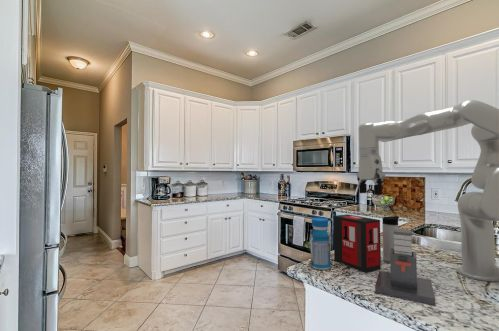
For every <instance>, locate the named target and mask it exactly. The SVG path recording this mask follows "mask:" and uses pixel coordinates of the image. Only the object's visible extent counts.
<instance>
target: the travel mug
mask: <svg viewBox="0 0 499 331" xmlns="http://www.w3.org/2000/svg"><path fill="white" fill-rule="evenodd" d="M399 219H400V217H399V216H398V215H395V216H394V215H393V216H383V217H382V226H381V228H382V261H383V262H384V263H386V264H389V265H390V252H391V249H394V232H393V231H394V229H400V228H399Z"/></svg>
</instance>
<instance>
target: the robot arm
mask: <svg viewBox="0 0 499 331" xmlns="http://www.w3.org/2000/svg"><path fill="white" fill-rule="evenodd" d="M470 124H472V127H471V128H470V129H471V130H470V133H471V136H472V138H473V139H474V140H475V141H476V142H477V143H478V145H479V147H480V154H479V157H478V160H477V162H476V165H475V166H474V170H473V172H472V175H471V178H470V180H471V184H472V185H473V186H474V187H475V188H477V189H479V190H482V192H479V191H468V192H465V193H464V194H462V195H461V196H460V197H458V200H457V210H458V214H459V221H460V236H461V244H460V245H461V266H458V267H457V273H459V274H460V275H462V276H464V277H466V278H469V279H474V280H477V281H483V282H490V283H491V282H493V283H495V281H497V282H499V267H498V266H497V265H496V250H495V249H496V248H495V243H496V242H495V227H494V224H493V222H499V108H497V107H496V106H493V105H490V104H488V103H486V102H483V101H481V100H476V99H468V100H466V101H461V102H460V103H458V104H455V105H452V106H447V107H443V108H439V109H434V110H429V111H425V112H422V113H419V114H416V115H414V116H411V117H409V118H405V119H403V120H401V121H395V120H387V121H381V122H366V123H363V124H362V123H361V124H360V125H359V126H358V152H359V153H358V155H359V158H358V172H357V173H356V179H357V183H358V187H359V188H358V191H359V193H358V194H367V193H368V191H367V190H368V189H367V186H368V185H367V181H372V182H373V195H375V196H382V195H383V184H384V181H385V177H386V173H384V171H383V170H384V169H383V164H382V162H383V161H382V159H381V155H380V145H379V144H380V142H381V143H387V142H392V141H395V140H397V141H398V140H401V139H405V138H410V137H416V136H423V135H427V134H431V133H436V132H440V131H444V130H449V129H455V128H460V127H464V126H467V125H470Z"/></svg>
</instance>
